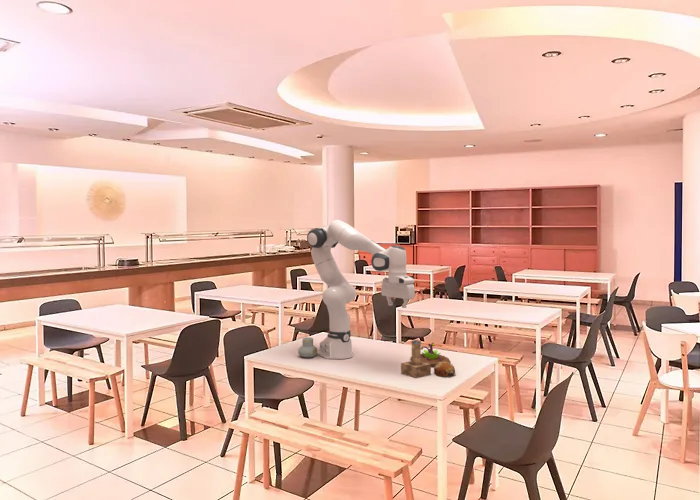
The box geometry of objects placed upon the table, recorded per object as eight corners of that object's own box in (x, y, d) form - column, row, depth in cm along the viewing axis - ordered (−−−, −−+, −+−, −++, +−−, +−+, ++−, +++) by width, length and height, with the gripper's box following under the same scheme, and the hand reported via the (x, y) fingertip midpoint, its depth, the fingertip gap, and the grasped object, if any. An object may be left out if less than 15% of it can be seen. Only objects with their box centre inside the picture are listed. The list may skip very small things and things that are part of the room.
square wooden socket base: (401, 373, 248) (401, 363, 248) (415, 370, 255) (415, 360, 255) (416, 378, 241) (416, 367, 241) (430, 374, 247) (430, 364, 247)
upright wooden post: (411, 373, 248) (411, 340, 247) (415, 372, 250) (416, 340, 249) (415, 375, 246) (416, 341, 245) (420, 374, 248) (420, 341, 247)
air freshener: (310, 359, 274) (310, 341, 274) (296, 358, 277) (296, 339, 276) (318, 355, 284) (318, 337, 284) (304, 353, 287) (304, 335, 287)
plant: (419, 369, 258) (420, 347, 257) (406, 359, 277) (406, 338, 276) (456, 367, 262) (457, 345, 262) (441, 357, 281) (441, 337, 281)
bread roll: (453, 380, 251) (451, 363, 254) (458, 376, 242) (456, 359, 245) (433, 380, 251) (431, 363, 254) (437, 376, 241) (435, 359, 244)
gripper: (378, 277, 261) (378, 304, 261) (407, 280, 245) (407, 309, 245) (387, 276, 265) (387, 303, 265) (416, 279, 249) (416, 308, 250)
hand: (397, 306), depth 255 cm, fingers open, 8 cm apart
